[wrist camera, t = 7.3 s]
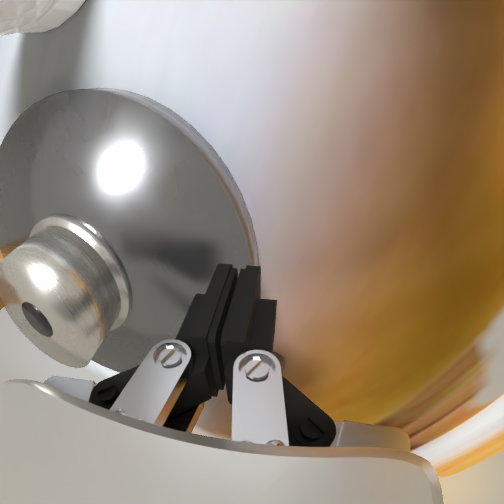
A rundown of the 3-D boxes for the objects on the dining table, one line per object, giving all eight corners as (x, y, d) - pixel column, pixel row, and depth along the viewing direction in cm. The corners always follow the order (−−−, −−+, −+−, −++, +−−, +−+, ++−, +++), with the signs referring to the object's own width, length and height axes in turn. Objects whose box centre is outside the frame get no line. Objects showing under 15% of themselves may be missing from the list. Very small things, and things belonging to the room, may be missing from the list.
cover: (106, 206, 11) (49, 251, 8) (149, 331, 15) (121, 386, 12) (20, 219, 12) (-25, 252, 9) (63, 317, 16) (33, 356, 13)
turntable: (256, 59, 9) (204, -4, 3) (257, 377, 19) (242, 470, 12) (-10, 131, 11) (-87, 165, 5) (56, 335, 21) (18, 390, 15)
